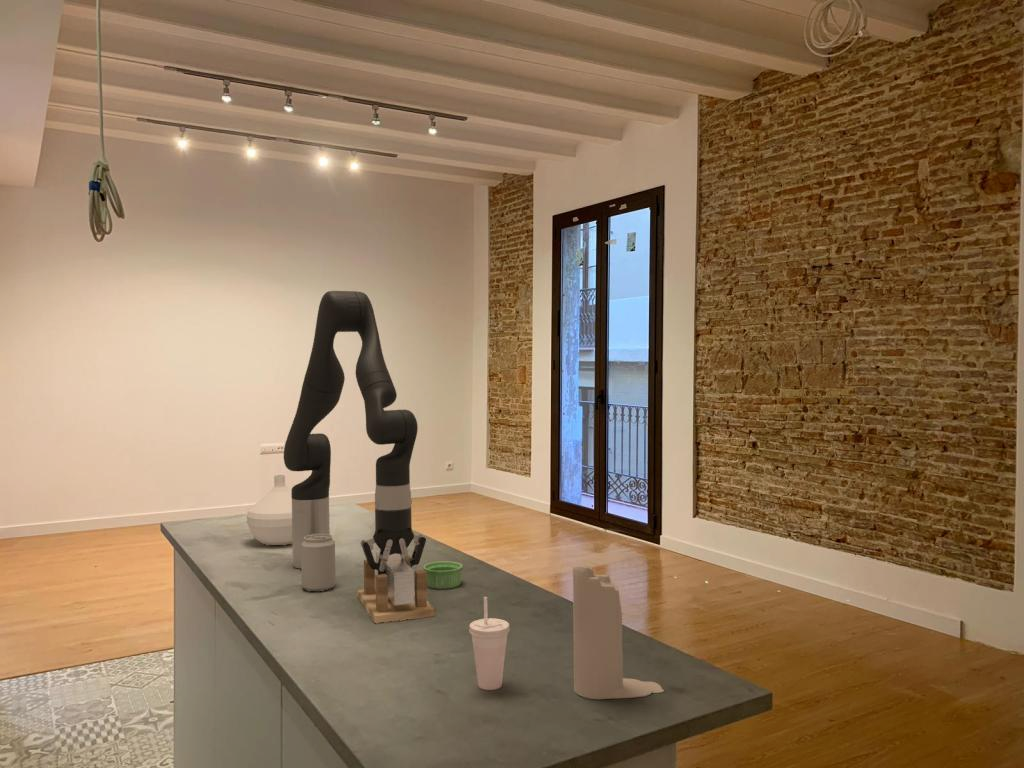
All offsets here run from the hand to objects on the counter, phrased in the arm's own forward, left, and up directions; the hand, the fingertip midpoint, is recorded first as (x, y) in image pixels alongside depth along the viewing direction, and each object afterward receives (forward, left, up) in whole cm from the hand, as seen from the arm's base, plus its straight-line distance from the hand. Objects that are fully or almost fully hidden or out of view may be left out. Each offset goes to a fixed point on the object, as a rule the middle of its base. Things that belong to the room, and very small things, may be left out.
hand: (394, 586), depth 167 cm
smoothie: (+46, +5, -4) cm, 47 cm away
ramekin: (-12, +14, -5) cm, 19 cm away
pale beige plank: (0, 0, -1) cm, 1 cm away
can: (-20, -13, -4) cm, 24 cm away
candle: (+55, +23, -4) cm, 60 cm away
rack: (0, 0, -4) cm, 4 cm away
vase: (-72, -17, -4) cm, 74 cm away
